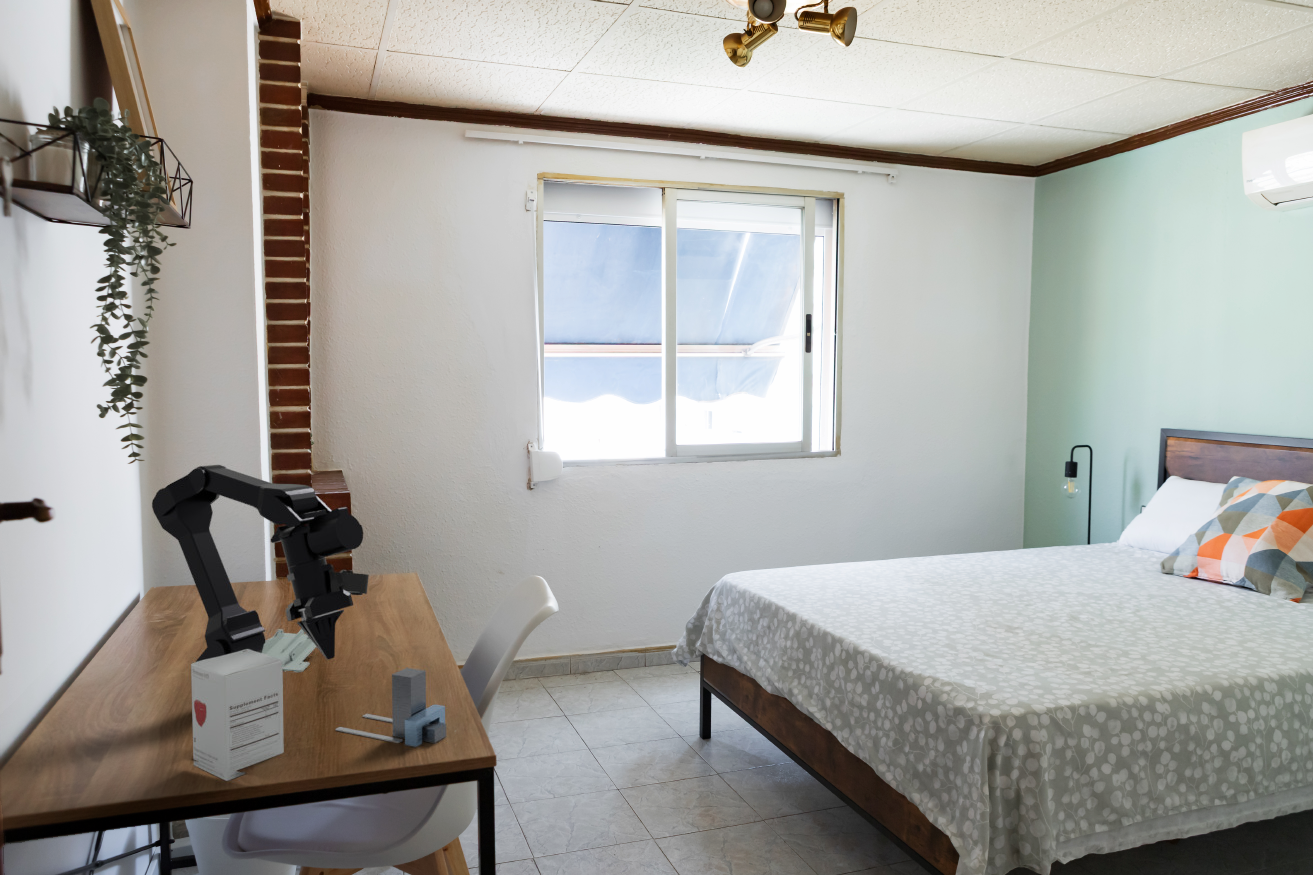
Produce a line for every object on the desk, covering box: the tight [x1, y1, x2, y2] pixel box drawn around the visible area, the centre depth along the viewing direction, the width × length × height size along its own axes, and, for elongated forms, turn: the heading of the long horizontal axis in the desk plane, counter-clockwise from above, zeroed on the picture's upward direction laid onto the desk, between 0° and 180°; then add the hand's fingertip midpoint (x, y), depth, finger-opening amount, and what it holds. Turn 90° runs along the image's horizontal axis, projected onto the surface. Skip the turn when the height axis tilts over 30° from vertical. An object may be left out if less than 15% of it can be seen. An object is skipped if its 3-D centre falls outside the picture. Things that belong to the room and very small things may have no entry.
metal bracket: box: [262, 628, 317, 673], centre depth 174 cm, size 14×6×15 cm
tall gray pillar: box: [391, 667, 447, 744], centre depth 133 cm, size 8×4×10 cm, turn 67°
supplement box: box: [190, 649, 284, 782], centre depth 126 cm, size 9×9×15 cm
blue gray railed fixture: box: [335, 703, 446, 748], centre depth 136 cm, size 16×8×5 cm, turn 67°
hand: (330, 658), depth 140 cm, fingers closed
